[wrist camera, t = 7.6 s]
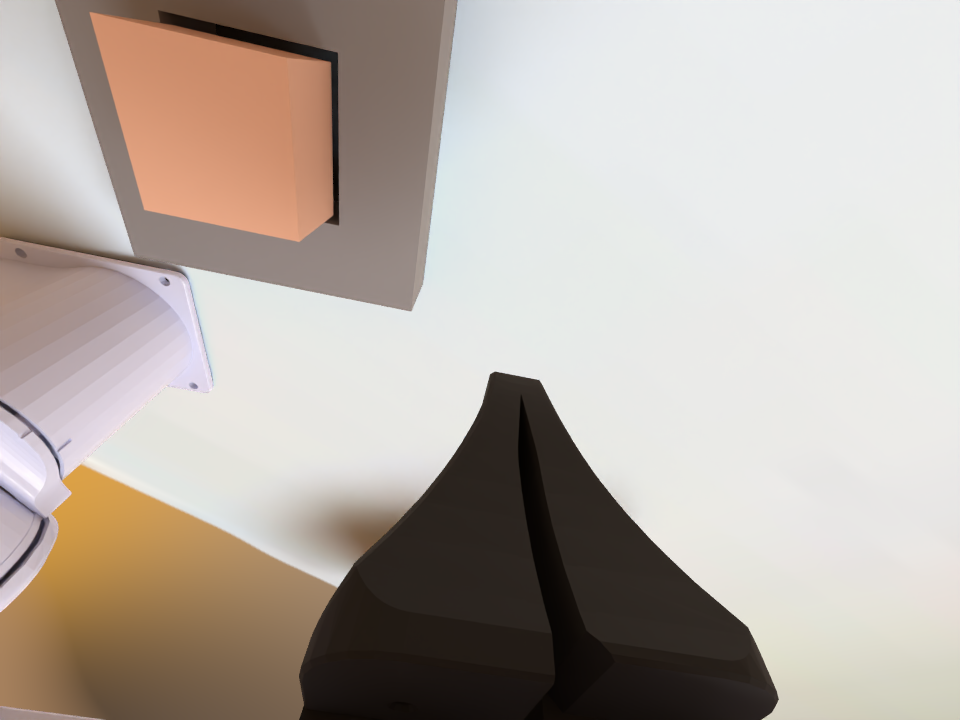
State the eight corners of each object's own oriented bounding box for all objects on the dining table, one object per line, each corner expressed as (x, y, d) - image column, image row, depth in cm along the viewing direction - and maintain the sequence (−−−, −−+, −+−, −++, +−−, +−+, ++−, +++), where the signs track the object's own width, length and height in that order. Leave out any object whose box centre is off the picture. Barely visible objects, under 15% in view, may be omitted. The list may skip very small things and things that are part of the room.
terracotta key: (204, 188, 16) (144, 209, 13) (174, 25, 13) (89, 11, 10) (333, 215, 16) (299, 241, 13) (331, 62, 13) (287, 57, 11)
